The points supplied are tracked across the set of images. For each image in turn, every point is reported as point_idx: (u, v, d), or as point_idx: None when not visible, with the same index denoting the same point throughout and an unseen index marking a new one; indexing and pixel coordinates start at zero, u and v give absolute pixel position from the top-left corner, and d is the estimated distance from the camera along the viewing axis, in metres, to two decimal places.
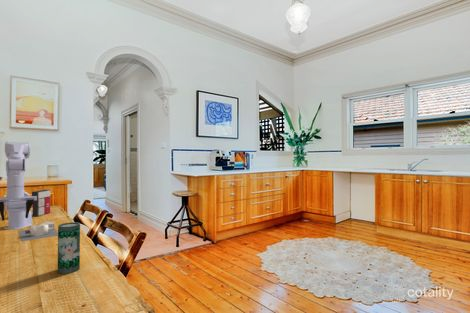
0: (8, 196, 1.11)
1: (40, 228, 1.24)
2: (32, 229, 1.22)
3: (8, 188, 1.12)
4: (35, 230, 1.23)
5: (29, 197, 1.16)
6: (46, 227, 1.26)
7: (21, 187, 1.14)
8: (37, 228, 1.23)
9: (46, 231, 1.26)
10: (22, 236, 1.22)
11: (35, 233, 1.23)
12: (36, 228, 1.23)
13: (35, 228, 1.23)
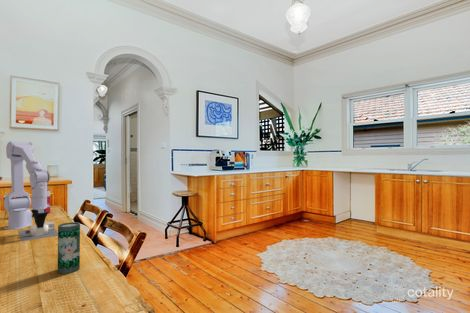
0: (44, 205, 1.24)
1: (40, 228, 1.24)
2: (32, 229, 1.22)
3: (43, 198, 1.24)
4: (35, 230, 1.23)
5: None
6: (46, 227, 1.26)
7: None
8: (37, 228, 1.23)
9: (46, 231, 1.26)
10: (22, 236, 1.22)
11: (35, 233, 1.23)
12: (36, 228, 1.23)
13: (35, 228, 1.23)
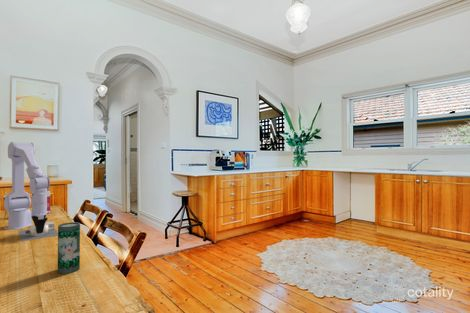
0: (44, 211, 1.24)
1: None
2: (32, 229, 1.22)
3: (43, 204, 1.24)
4: (35, 230, 1.23)
5: None
6: (46, 227, 1.26)
7: None
8: None
9: (46, 231, 1.26)
10: (22, 236, 1.22)
11: (35, 233, 1.23)
12: None
13: (35, 228, 1.23)
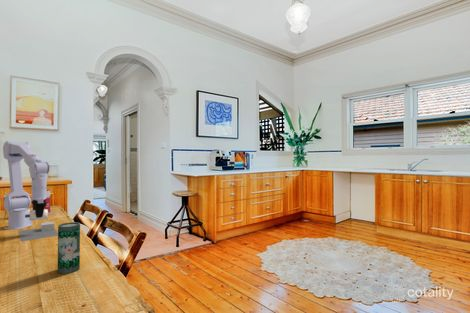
0: (43, 196, 1.26)
1: None
2: (32, 213, 1.24)
3: (43, 189, 1.26)
4: (35, 214, 1.24)
5: None
6: (46, 212, 1.27)
7: None
8: None
9: (46, 216, 1.27)
10: (22, 236, 1.22)
11: (35, 217, 1.24)
12: None
13: None
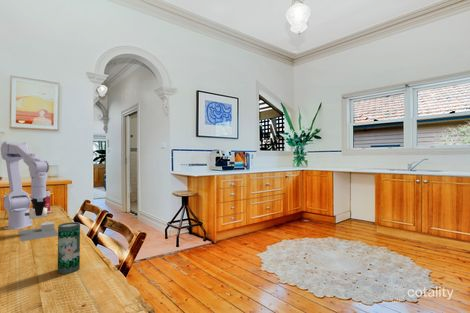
0: (43, 194, 1.27)
1: None
2: (31, 211, 1.25)
3: (43, 187, 1.27)
4: (34, 212, 1.26)
5: None
6: (45, 210, 1.29)
7: None
8: None
9: (45, 214, 1.29)
10: (22, 236, 1.22)
11: (34, 215, 1.26)
12: None
13: (34, 210, 1.26)
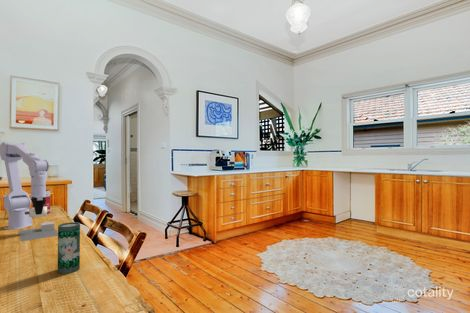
0: (42, 193, 1.28)
1: None
2: (31, 210, 1.26)
3: (42, 186, 1.28)
4: (34, 211, 1.27)
5: None
6: (45, 209, 1.30)
7: None
8: None
9: (45, 213, 1.30)
10: (22, 236, 1.22)
11: (34, 214, 1.27)
12: None
13: (34, 209, 1.27)
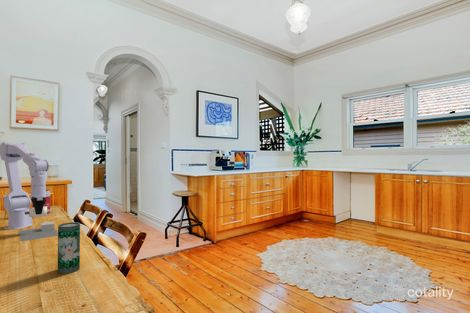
0: (42, 193, 1.28)
1: None
2: (31, 210, 1.26)
3: (42, 186, 1.28)
4: (34, 211, 1.27)
5: None
6: (45, 209, 1.30)
7: None
8: None
9: (45, 213, 1.30)
10: (22, 236, 1.22)
11: (34, 214, 1.27)
12: None
13: (34, 209, 1.27)
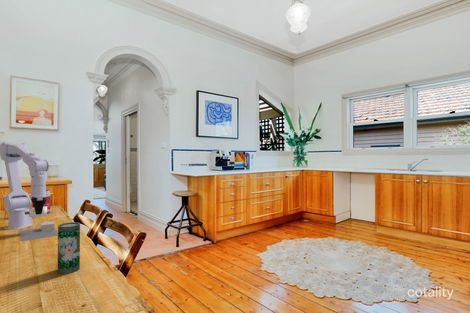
0: (42, 193, 1.28)
1: None
2: (31, 210, 1.26)
3: (42, 186, 1.28)
4: (34, 211, 1.27)
5: None
6: (45, 209, 1.30)
7: None
8: None
9: (45, 213, 1.30)
10: (22, 236, 1.22)
11: (34, 214, 1.27)
12: None
13: (34, 209, 1.27)
